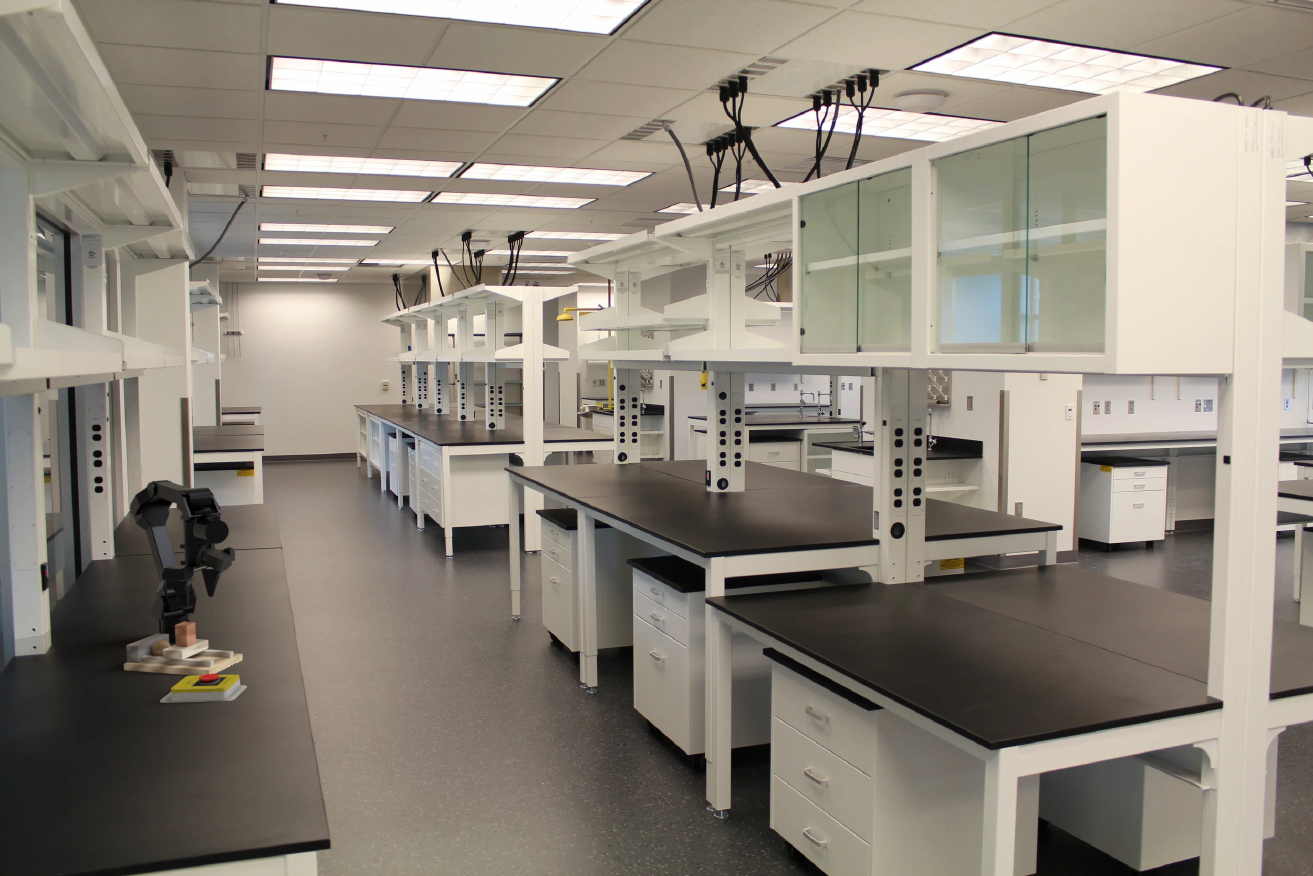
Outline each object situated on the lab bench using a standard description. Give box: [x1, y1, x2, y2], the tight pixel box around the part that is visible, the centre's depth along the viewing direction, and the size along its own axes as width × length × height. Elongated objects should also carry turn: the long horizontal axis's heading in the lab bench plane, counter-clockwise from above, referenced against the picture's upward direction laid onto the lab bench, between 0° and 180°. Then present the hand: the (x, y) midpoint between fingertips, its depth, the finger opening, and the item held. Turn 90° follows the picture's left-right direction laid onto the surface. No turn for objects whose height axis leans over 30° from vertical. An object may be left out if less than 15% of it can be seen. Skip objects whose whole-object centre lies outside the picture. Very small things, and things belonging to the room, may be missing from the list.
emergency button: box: [159, 673, 248, 704], centre depth 194 cm, size 9×4×15 cm
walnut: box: [152, 640, 172, 657], centre depth 214 cm, size 4×4×4 cm
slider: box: [163, 621, 209, 660], centre depth 213 cm, size 5×9×7 cm, turn 169°
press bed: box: [123, 632, 244, 676], centre depth 213 cm, size 22×12×6 cm, turn 79°
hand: (198, 601), depth 225 cm, fingers open, 9 cm apart
